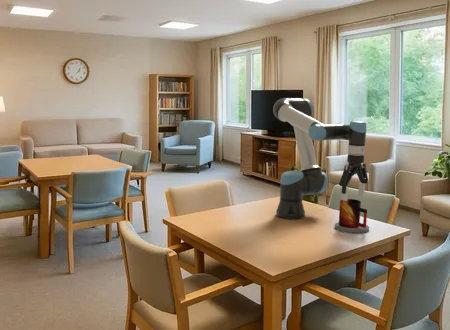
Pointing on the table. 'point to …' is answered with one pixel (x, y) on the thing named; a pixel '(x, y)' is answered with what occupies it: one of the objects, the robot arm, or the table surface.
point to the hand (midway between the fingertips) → (352, 198)
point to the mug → (351, 214)
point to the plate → (352, 229)
